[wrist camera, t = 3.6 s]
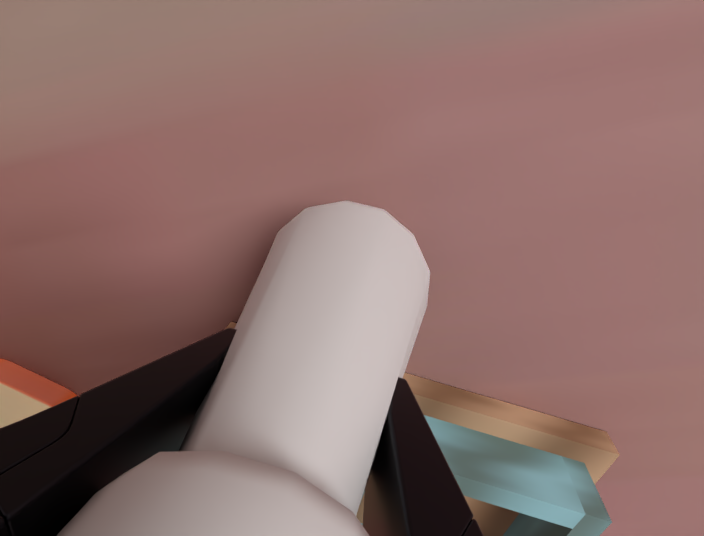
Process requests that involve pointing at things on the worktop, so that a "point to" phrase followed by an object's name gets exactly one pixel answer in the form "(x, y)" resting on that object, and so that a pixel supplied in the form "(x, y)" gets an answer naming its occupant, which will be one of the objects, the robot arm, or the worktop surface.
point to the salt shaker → (289, 392)
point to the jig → (517, 463)
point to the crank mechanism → (26, 393)
